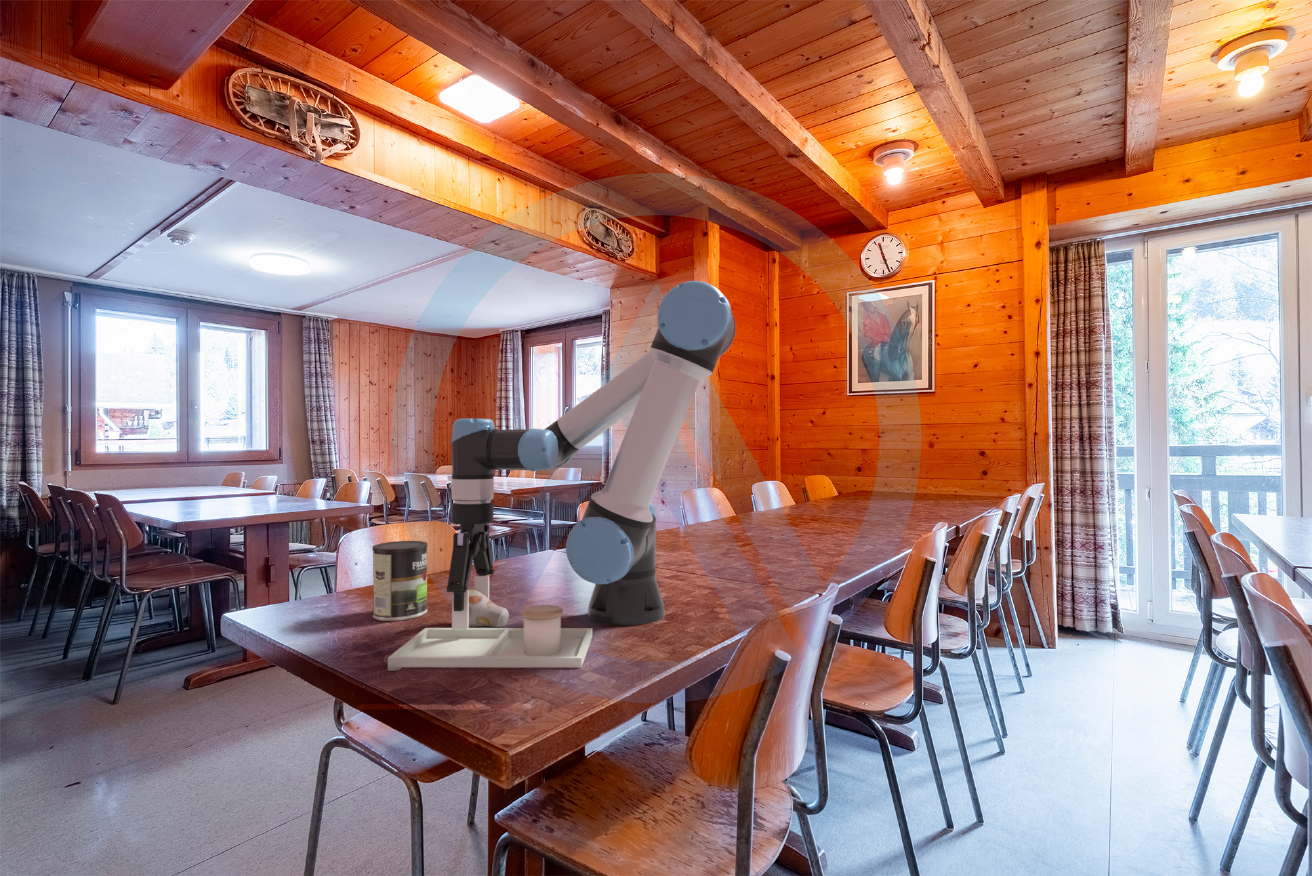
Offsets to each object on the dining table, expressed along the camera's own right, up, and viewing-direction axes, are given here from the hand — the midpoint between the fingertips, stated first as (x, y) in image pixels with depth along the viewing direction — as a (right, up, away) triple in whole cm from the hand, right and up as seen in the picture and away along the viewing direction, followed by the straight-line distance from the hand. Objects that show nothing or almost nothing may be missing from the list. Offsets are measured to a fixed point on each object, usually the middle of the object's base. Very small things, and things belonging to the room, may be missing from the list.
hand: (471, 618), depth 112 cm
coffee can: (-18, -2, +11) cm, 21 cm away
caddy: (+8, -2, -13) cm, 15 cm away
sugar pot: (+16, -1, -13) cm, 20 cm away
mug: (+2, -2, +2) cm, 4 cm away
